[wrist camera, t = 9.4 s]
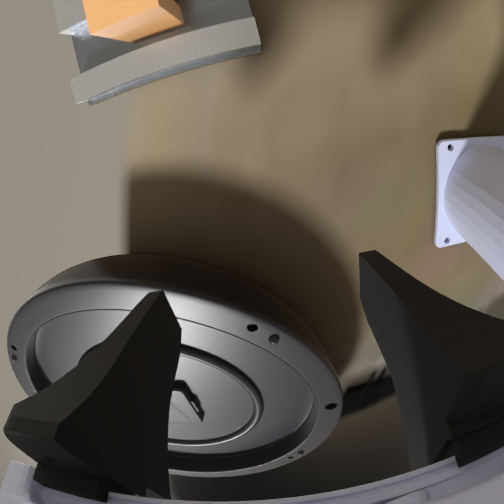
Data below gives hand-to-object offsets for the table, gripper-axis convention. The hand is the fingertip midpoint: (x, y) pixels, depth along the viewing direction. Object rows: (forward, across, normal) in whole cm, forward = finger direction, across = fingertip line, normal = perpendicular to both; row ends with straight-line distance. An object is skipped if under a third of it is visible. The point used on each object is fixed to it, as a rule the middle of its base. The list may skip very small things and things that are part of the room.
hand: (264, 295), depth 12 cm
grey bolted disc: (+10, +12, +15) cm, 22 cm away
